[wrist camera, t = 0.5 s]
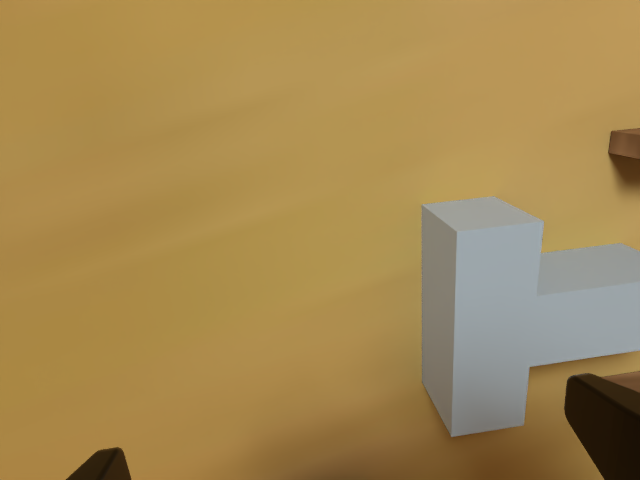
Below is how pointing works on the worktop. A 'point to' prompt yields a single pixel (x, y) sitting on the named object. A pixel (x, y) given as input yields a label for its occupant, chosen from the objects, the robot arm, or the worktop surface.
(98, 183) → the worktop surface
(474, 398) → the t block
